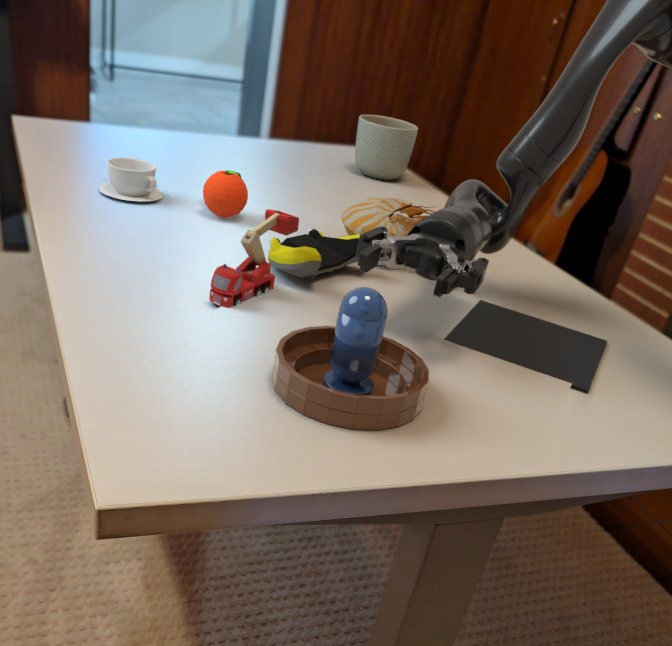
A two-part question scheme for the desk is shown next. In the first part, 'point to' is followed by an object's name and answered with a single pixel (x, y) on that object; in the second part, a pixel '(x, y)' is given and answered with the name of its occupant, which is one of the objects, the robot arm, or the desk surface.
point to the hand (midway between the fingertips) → (400, 275)
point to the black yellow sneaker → (312, 253)
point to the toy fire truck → (250, 264)
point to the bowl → (341, 407)
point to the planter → (384, 146)
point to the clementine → (225, 193)
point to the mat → (530, 343)
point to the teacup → (131, 180)
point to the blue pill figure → (357, 342)
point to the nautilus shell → (383, 216)
